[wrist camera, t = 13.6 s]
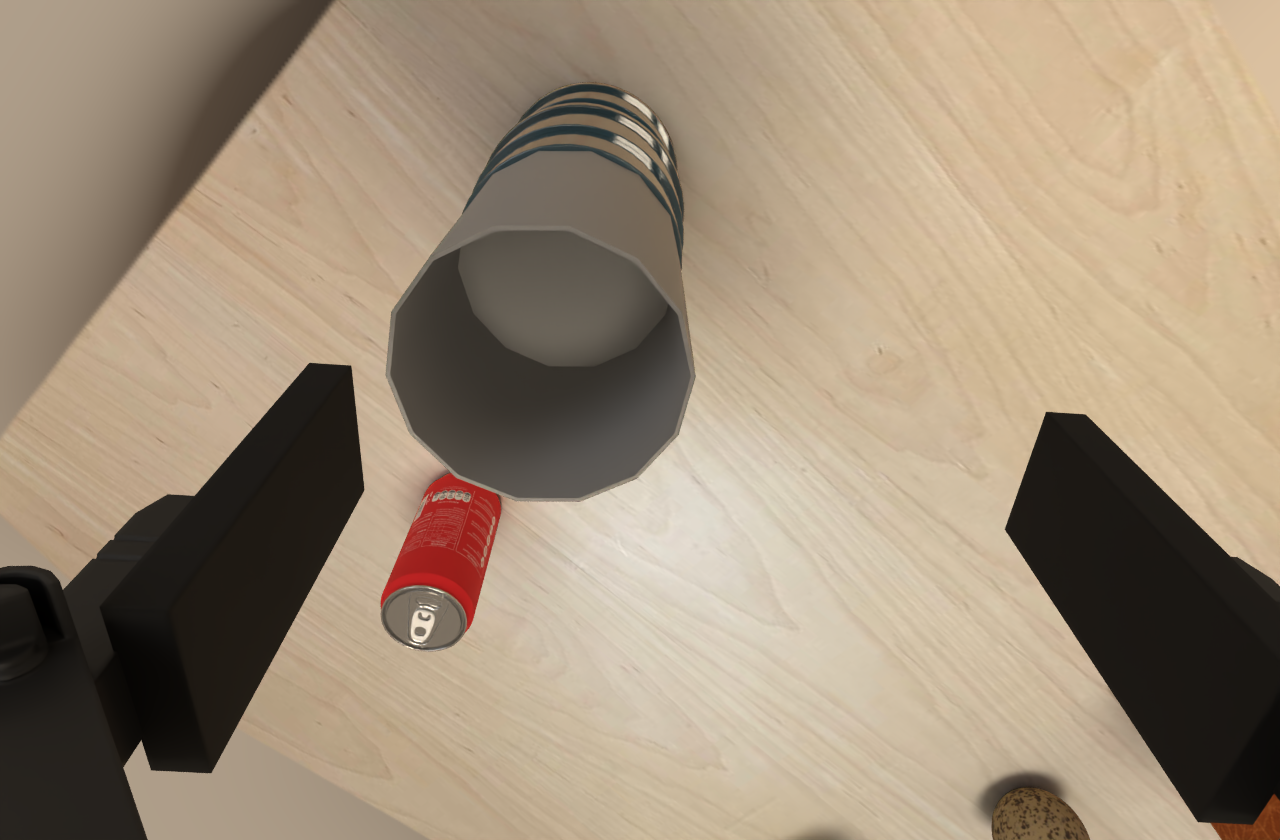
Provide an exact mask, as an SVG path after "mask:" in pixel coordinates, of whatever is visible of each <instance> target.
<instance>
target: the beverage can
mask: <svg viewBox="0 0 1280 840" xmlns="http://www.w3.org/2000/svg"><path fill="white" fill-rule="evenodd" d="M500 515H501V505H500V501H499V499H498V497H497V494H496V493H494V492H491V491H489V490H486V489H484V488H481V487H478V486H476V485H473V484H471V483H468V482H466V481H463V480H461V479H458V478H456V477H455V476H454V475H453V474H452V473H451V472H450V473H448V474H446V475H444V476H443V477H441V478H440V479H438V480H436V481H435V482H433V483H432V484H431V485H430V486H429V487H428V489H427V490H426V492H425V494H424V497H423V499H422V501H421V504H420V506H419V509H418V511H417V513H416V516H415V518H414V520H413V523H412V525H411V528H410V530H409V532H408V535H407V537H406V539H405V542H404V544H403V546H402V549H401V551H400V554H399V556H398V558H397V561H396V563H395V565H394V568H393V570H392V573H391V575H390V577H389V580H388V582H387V584H386V587H385V589H384V592H383V594H382V597H381V620H382V624H383V626H384V628H385V630H386V631H387V633H388V634H389V635H390V636H391V637H392V638H393V639H394V640H395V641H397V642H398V643H400V644H402V645H403V646H406V647H408V648H411V649H414V650H418V651H428V652H429V651H439V650H443V649H447V648H449V647H452V646H453V645H455V644H456V643H457V642H458V641H459V640H460V639H461V638H462V636H463V635H464V633H465V632H466V631H467V630H468V629H469V627H470V626H471V624H472V621H473V618H474V614H475V610H476V607H477V603H478V599H479V595H480V591H481V588H482V584H483V580H484V576H485V572H486V569H487V565H488V561H489V557H490V553H491V550H492V546H493V542H494V538H495V534H496V531H497V527H498V523H499V519H500Z"/></svg>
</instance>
